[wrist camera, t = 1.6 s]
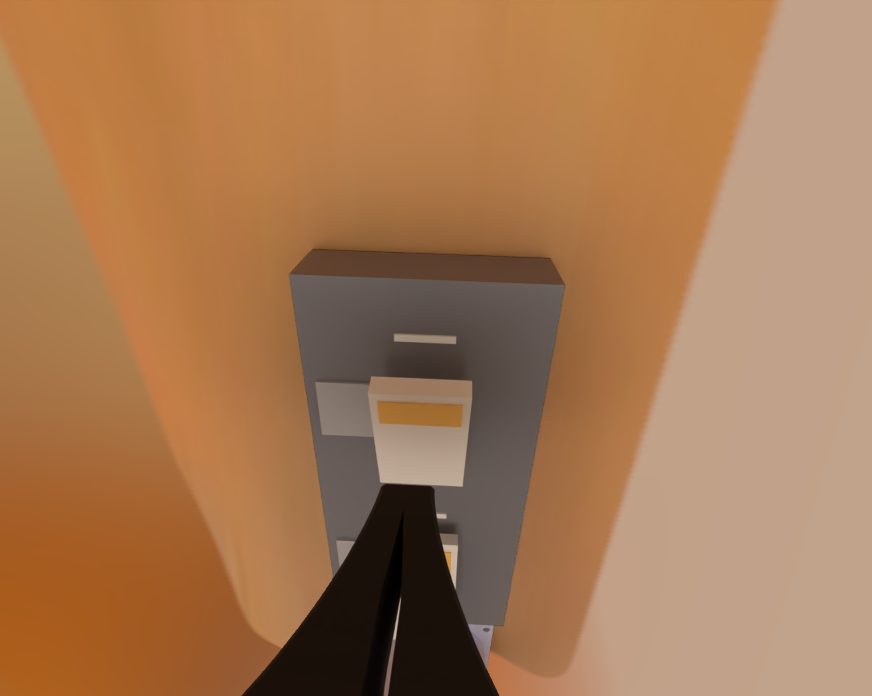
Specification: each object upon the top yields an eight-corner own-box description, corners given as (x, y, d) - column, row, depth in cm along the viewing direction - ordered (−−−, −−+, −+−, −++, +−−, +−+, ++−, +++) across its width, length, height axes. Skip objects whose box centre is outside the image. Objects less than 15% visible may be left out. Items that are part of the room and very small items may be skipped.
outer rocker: (462, 470, 20) (462, 488, 19) (382, 466, 20) (379, 483, 19) (472, 380, 16) (472, 399, 15) (371, 376, 16) (367, 394, 15)
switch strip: (499, 579, 29) (503, 629, 27) (349, 570, 30) (338, 619, 27) (550, 258, 19) (566, 286, 16) (312, 249, 19) (287, 275, 16)
